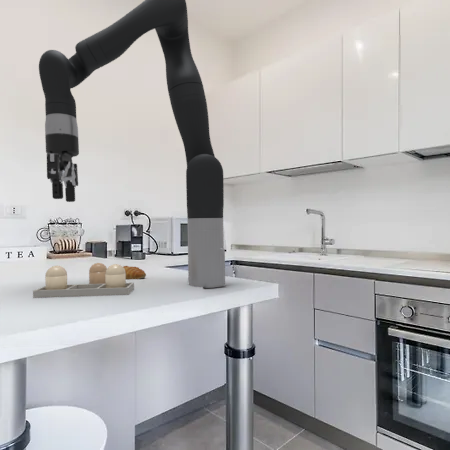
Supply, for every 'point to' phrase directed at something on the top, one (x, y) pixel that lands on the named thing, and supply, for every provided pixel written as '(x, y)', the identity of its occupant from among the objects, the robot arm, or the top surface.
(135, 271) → the pastry
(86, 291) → the carton
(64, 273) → the egg
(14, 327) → the top surface
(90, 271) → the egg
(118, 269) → the egg
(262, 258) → the top surface
